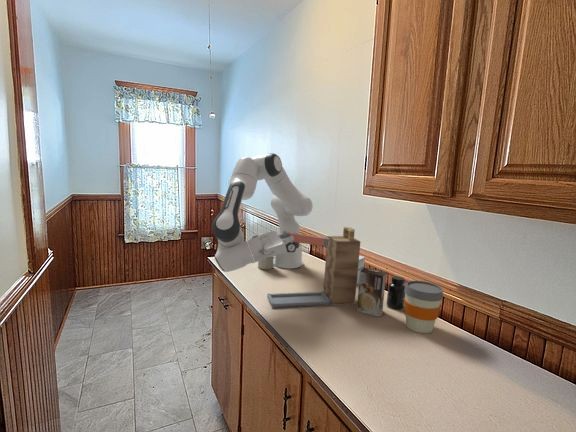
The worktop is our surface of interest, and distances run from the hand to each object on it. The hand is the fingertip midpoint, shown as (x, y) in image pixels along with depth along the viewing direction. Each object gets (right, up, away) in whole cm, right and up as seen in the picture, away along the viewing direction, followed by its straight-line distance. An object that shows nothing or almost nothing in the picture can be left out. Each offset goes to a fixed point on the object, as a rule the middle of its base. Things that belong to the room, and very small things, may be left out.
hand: (291, 235), depth 126 cm
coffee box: (+30, -30, +1) cm, 42 cm away
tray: (+3, -27, +6) cm, 28 cm away
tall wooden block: (+19, -27, +10) cm, 35 cm away
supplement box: (+30, -25, +33) cm, 51 cm away
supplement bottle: (+42, -29, +7) cm, 52 cm away
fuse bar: (+5, -3, +2) cm, 6 cm away
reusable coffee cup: (+45, -32, -10) cm, 56 cm away
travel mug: (-13, -20, +47) cm, 52 cm away
